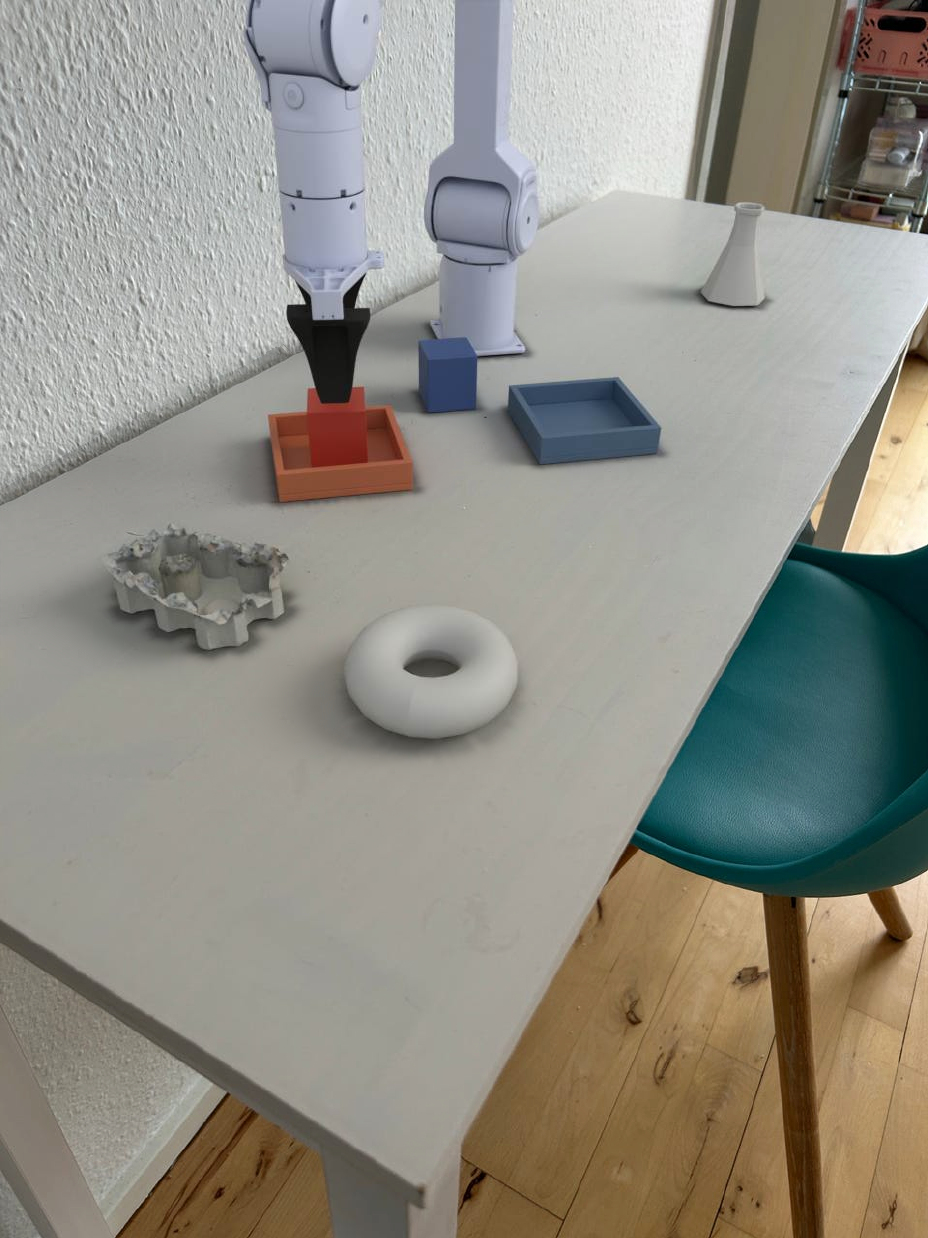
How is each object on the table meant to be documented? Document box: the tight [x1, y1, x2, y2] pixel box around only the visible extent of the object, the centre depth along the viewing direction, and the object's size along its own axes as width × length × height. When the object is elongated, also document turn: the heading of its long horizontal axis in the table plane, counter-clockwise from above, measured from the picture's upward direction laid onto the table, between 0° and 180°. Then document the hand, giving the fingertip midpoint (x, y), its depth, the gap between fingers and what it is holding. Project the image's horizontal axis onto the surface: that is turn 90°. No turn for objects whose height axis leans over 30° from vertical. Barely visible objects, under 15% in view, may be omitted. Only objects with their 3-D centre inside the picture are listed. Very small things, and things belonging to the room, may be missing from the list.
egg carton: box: [96, 522, 290, 651], centre depth 60 cm, size 11×8×4 cm
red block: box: [306, 386, 368, 468], centre depth 75 cm, size 4×4×5 cm
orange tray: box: [267, 404, 414, 503], centre depth 76 cm, size 10×10×2 cm
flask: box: [700, 201, 766, 307], centre depth 107 cm, size 7×7×10 cm
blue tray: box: [507, 376, 662, 465], centre depth 81 cm, size 10×10×2 cm
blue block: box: [417, 337, 479, 414], centre depth 85 cm, size 4×4×5 cm
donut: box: [343, 603, 519, 740], centre depth 54 cm, size 10×4×10 cm
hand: (334, 379), depth 72 cm, fingers open, 7 cm apart
